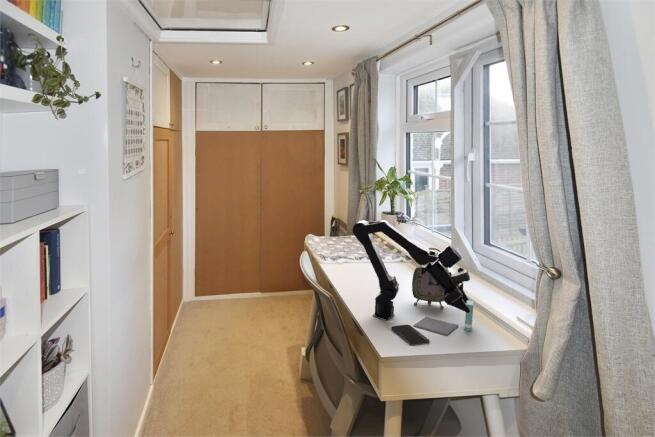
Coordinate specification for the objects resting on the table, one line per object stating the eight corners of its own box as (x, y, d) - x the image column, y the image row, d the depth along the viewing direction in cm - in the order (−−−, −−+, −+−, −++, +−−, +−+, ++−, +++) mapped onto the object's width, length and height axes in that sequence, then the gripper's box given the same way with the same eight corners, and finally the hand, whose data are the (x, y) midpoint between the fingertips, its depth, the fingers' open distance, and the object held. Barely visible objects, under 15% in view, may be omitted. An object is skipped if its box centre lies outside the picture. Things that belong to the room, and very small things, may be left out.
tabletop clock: (410, 307, 189) (414, 248, 185) (412, 300, 198) (416, 244, 194) (446, 312, 185) (451, 252, 181) (447, 304, 193) (451, 247, 189)
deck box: (464, 330, 167) (466, 304, 165) (464, 325, 172) (466, 300, 170) (471, 331, 166) (473, 305, 164) (471, 326, 171) (473, 301, 169)
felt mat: (413, 326, 169) (413, 325, 169) (425, 317, 178) (425, 316, 178) (447, 335, 162) (447, 334, 161) (458, 326, 170) (458, 325, 170)
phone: (408, 324, 169) (430, 340, 155) (408, 327, 169) (430, 344, 155) (389, 326, 166) (410, 343, 152) (389, 329, 166) (410, 346, 153)
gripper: (456, 268, 158) (487, 303, 156) (458, 256, 175) (486, 287, 174) (432, 287, 161) (462, 321, 160) (436, 274, 179) (463, 304, 177)
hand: (469, 307), depth 167 cm, fingers open, 9 cm apart
